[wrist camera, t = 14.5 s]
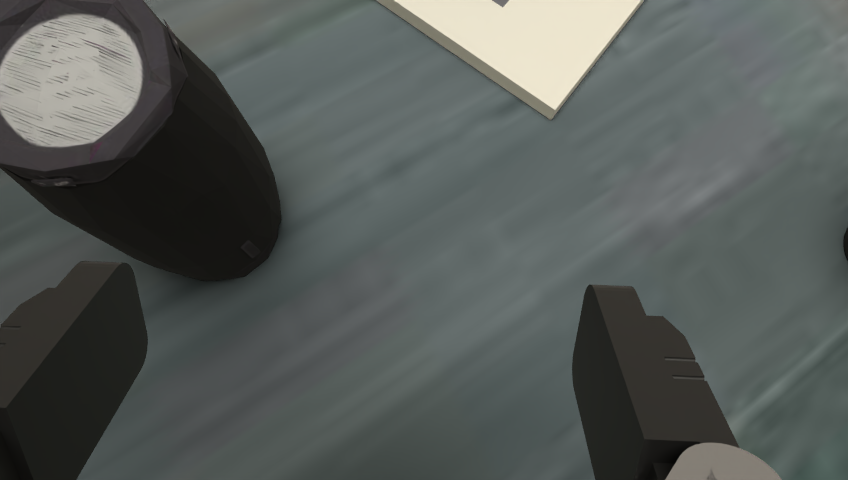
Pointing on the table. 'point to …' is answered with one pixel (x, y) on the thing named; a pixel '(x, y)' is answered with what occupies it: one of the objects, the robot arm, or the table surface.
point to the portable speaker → (132, 137)
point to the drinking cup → (846, 243)
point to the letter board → (523, 40)
